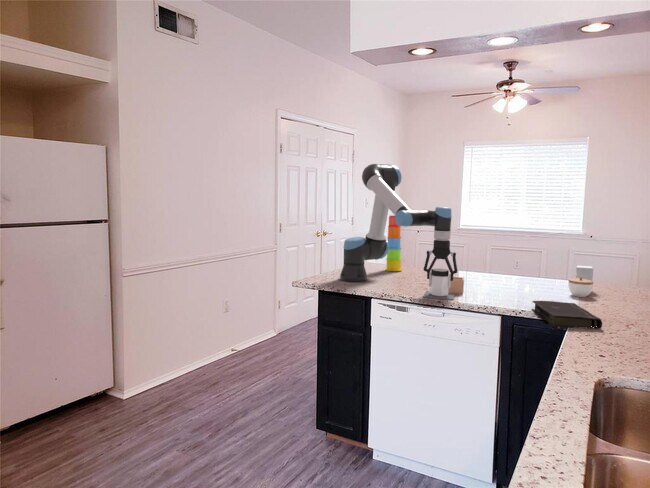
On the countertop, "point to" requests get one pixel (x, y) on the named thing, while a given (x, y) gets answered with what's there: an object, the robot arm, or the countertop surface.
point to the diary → (565, 314)
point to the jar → (439, 282)
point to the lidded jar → (580, 286)
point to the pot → (457, 285)
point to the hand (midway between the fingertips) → (439, 286)
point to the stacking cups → (393, 246)
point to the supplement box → (584, 272)
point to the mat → (449, 297)
